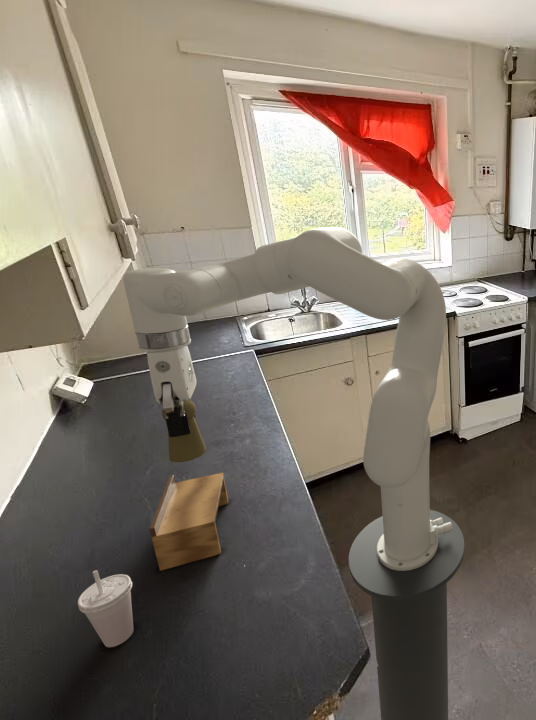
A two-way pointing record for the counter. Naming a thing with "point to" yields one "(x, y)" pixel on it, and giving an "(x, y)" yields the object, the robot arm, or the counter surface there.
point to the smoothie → (109, 608)
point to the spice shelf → (188, 520)
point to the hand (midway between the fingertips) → (183, 426)
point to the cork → (186, 438)
